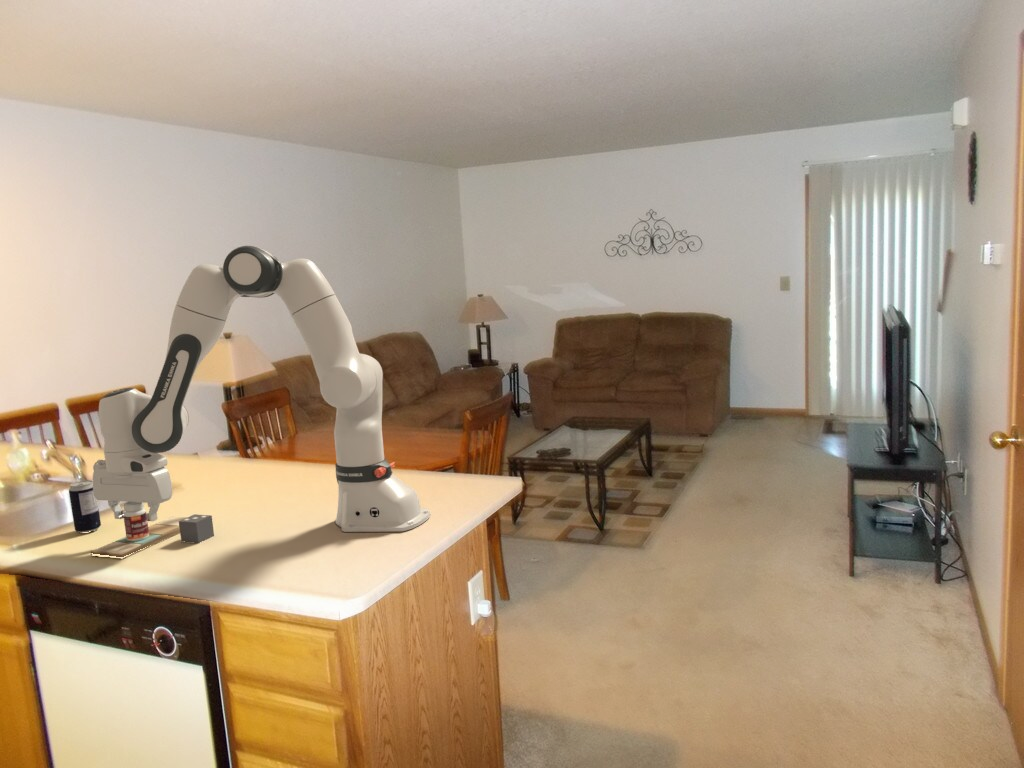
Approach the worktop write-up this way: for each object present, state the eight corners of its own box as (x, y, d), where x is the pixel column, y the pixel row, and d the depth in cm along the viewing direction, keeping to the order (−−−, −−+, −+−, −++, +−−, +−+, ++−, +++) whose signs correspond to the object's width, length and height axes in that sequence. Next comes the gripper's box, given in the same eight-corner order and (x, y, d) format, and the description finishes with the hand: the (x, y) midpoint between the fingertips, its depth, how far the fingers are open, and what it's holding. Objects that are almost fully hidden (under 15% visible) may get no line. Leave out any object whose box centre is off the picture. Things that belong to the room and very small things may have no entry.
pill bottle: (134, 543, 178) (129, 507, 177) (122, 540, 180) (117, 504, 179) (153, 536, 182) (149, 501, 180) (141, 533, 184) (137, 498, 183)
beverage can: (102, 525, 197) (95, 478, 195) (100, 532, 192) (92, 484, 190) (77, 529, 195) (70, 482, 193) (73, 536, 190) (66, 487, 188)
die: (214, 536, 184) (211, 515, 183) (198, 543, 179) (196, 522, 178) (197, 534, 185) (194, 513, 185) (181, 542, 181) (178, 520, 180)
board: (200, 523, 194) (200, 518, 193) (122, 559, 171) (121, 553, 171) (172, 521, 197) (171, 516, 197) (91, 556, 175) (90, 550, 174)
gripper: (81, 463, 179) (90, 521, 181) (151, 465, 172) (160, 526, 174) (104, 456, 185) (112, 512, 187) (172, 458, 178) (181, 517, 180)
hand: (136, 519), depth 180 cm, fingers open, 8 cm apart
